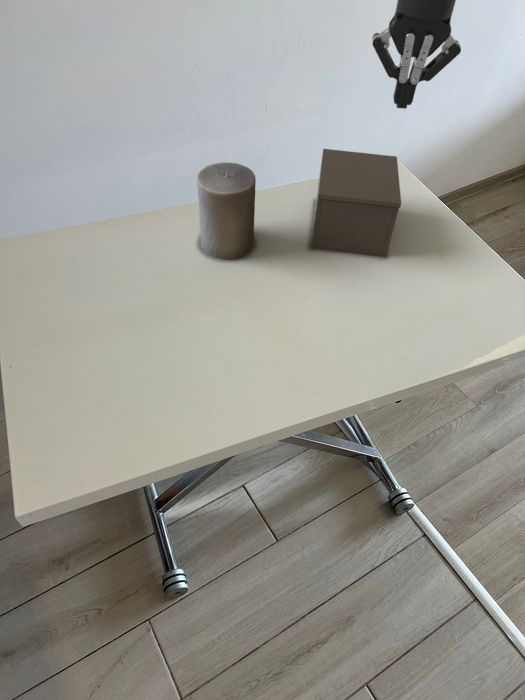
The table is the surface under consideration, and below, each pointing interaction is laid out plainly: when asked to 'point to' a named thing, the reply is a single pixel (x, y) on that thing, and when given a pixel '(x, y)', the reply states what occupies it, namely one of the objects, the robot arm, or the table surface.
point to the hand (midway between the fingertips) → (401, 106)
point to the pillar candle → (226, 209)
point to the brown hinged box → (352, 227)
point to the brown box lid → (359, 178)
